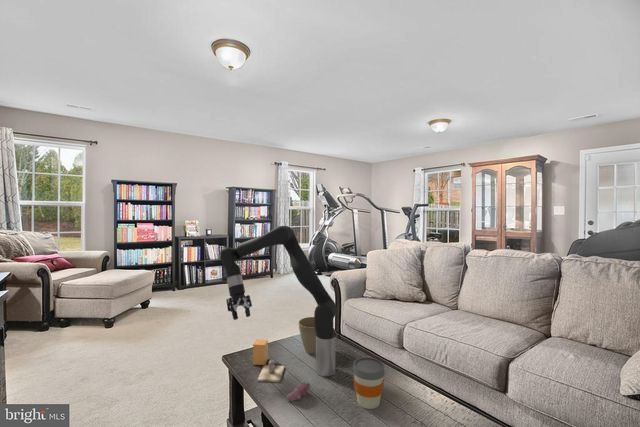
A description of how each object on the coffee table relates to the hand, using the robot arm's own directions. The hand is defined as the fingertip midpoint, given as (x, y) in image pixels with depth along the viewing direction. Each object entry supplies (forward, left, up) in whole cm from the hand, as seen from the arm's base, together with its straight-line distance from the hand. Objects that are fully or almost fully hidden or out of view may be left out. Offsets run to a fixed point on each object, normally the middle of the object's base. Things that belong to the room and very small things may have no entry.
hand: (242, 318), depth 147 cm
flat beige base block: (-16, +7, -23) cm, 29 cm away
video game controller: (-31, +23, -24) cm, 45 cm away
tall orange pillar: (-8, -4, -23) cm, 25 cm away
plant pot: (-33, -17, -24) cm, 44 cm away
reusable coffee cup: (-59, +24, -24) cm, 68 cm away
